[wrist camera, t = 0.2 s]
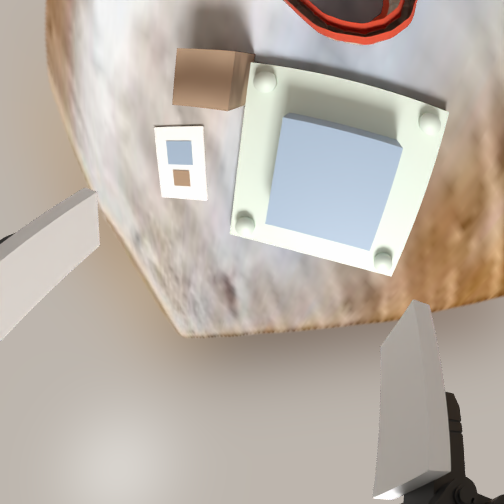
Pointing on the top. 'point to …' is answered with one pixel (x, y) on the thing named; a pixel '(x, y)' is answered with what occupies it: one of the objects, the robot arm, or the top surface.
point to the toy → (379, 29)
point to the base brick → (331, 180)
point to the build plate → (347, 113)
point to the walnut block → (211, 78)
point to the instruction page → (182, 162)
